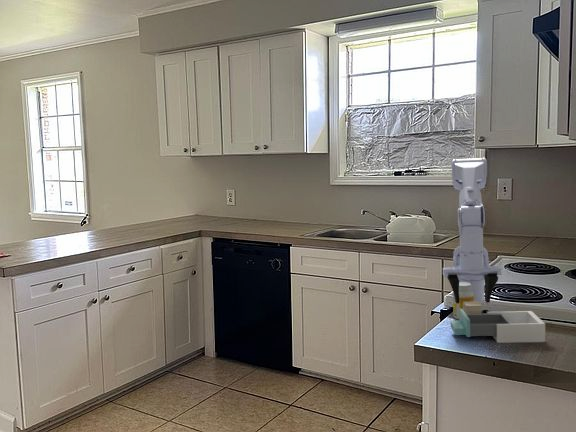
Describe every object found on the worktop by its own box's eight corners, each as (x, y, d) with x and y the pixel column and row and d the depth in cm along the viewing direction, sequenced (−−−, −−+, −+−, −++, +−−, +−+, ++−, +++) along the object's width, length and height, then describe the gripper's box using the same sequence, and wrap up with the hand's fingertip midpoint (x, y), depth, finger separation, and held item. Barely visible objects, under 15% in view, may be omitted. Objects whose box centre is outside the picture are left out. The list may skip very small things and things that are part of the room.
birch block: (463, 322, 146) (462, 301, 145) (478, 322, 145) (478, 301, 144) (466, 327, 142) (466, 305, 141) (482, 327, 141) (481, 305, 140)
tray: (449, 324, 141) (449, 309, 140) (501, 323, 139) (501, 307, 139) (456, 337, 132) (456, 320, 131) (511, 336, 130) (511, 319, 130)
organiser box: (487, 328, 140) (486, 311, 140) (531, 327, 139) (531, 311, 138) (497, 342, 130) (497, 324, 130) (545, 342, 129) (545, 323, 128)
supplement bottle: (449, 317, 150) (448, 284, 149) (460, 313, 154) (460, 280, 152) (466, 321, 146) (466, 287, 145) (477, 317, 150) (477, 283, 148)
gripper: (445, 255, 138) (446, 306, 139) (504, 253, 136) (505, 305, 138) (441, 250, 145) (442, 299, 146) (497, 248, 143) (497, 298, 145)
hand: (472, 301), depth 143 cm, fingers open, 7 cm apart
